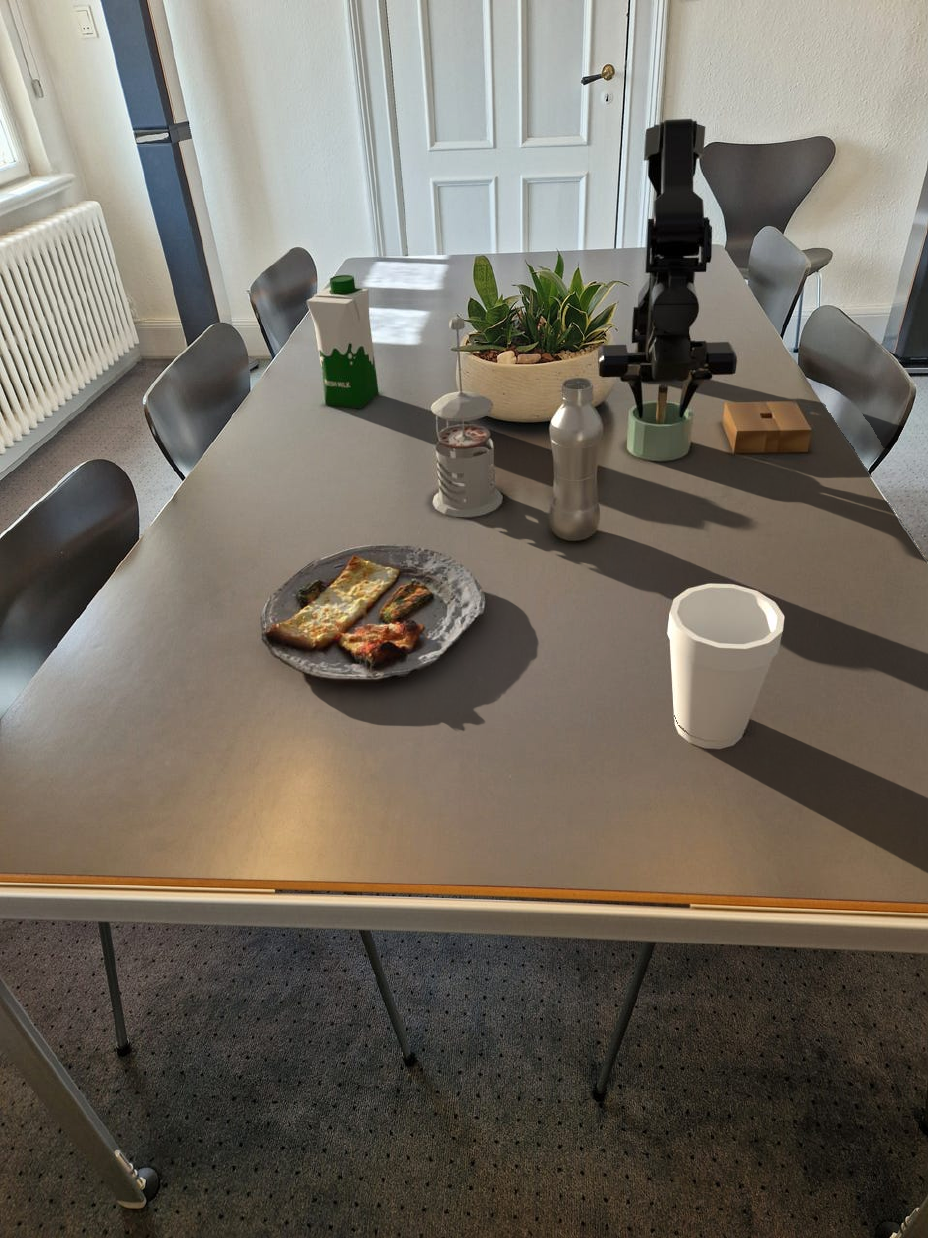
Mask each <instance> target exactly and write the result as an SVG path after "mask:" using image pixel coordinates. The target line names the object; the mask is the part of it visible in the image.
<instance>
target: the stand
mask: <svg viewBox="0 0 928 1238" xmlns="http://www.w3.org/2000/svg"><path fill="white" fill-rule="evenodd" d="M722 426H723V428H724V432H725V434H726V436H727V439H728V442H729V445H730V447H731V450H732V453H733V454H759V453H760V454H763V453H808V450H809V445H810V441H811V436H812V430H813V429H812V428H811V426H810V424H809V423H808V421H807V419H806V417H805V416H804V414H803V412H802V411H801V409H800V407H799V405H798V403H797V401H796V400H791V401H790V400H788V401H785V400H784V401H737V402H736V401H735V402H733V401H731V402H730V401H729V402H727V401H726V402H724V409H723V417H722Z"/></svg>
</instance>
